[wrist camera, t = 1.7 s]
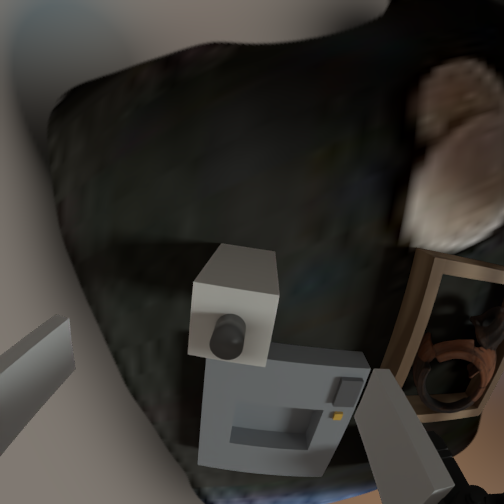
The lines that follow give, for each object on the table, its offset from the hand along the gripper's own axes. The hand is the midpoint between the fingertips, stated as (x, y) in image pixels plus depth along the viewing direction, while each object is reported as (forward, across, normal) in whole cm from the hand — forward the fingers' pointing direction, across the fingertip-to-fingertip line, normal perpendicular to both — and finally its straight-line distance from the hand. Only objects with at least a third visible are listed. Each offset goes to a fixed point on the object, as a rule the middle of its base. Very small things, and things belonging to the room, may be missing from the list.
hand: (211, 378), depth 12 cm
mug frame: (+14, +22, -4) cm, 27 cm away
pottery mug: (+15, +23, -4) cm, 28 cm away
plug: (+15, 0, 0) cm, 15 cm away
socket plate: (+15, +5, -14) cm, 21 cm away
